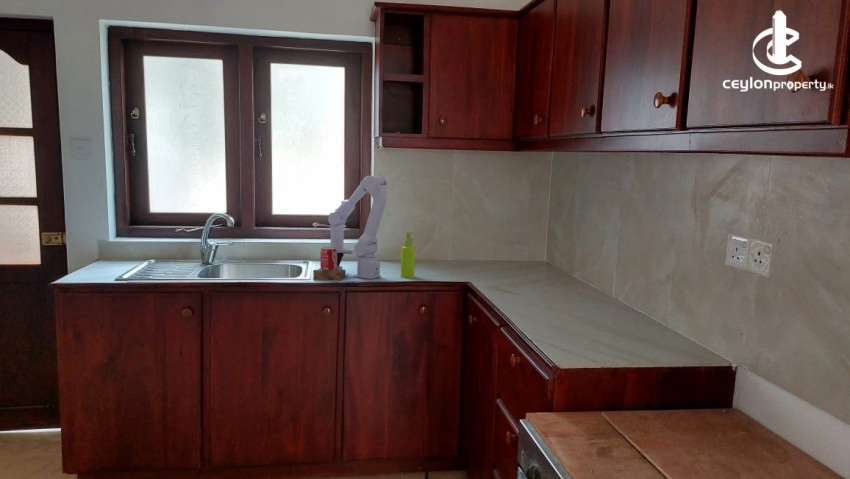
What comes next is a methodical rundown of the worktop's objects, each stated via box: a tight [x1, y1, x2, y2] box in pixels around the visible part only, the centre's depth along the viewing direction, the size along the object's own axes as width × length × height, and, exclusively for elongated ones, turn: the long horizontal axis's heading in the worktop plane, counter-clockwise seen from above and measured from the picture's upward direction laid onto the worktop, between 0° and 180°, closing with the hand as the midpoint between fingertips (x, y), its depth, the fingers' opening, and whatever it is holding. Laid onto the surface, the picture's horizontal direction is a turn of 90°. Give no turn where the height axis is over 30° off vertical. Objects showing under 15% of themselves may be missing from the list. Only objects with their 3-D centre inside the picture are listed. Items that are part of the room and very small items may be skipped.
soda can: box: [319, 246, 337, 271], centre depth 250 cm, size 7×7×13 cm
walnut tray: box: [312, 268, 346, 282], centre depth 250 cm, size 11×10×4 cm
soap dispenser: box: [400, 230, 419, 279], centre depth 257 cm, size 6×7×20 cm
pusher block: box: [337, 265, 343, 271], centre depth 258 cm, size 7×6×3 cm
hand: (336, 269), depth 263 cm, fingers closed, pressing on pusher block
